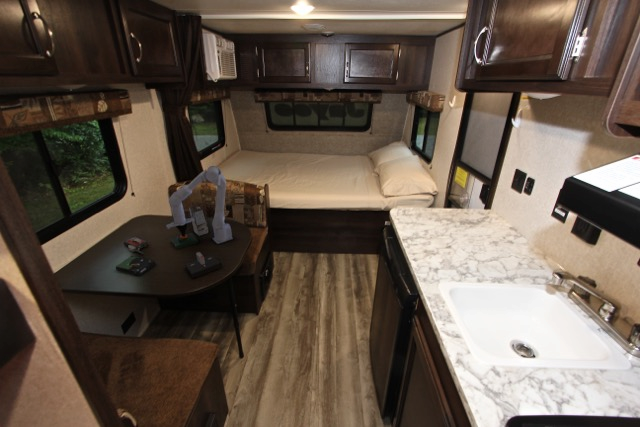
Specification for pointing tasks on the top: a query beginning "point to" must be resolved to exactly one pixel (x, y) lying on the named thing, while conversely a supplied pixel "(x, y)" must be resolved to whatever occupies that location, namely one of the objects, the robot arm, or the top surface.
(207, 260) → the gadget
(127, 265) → the disk drive
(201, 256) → the pale grey block
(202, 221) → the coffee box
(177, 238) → the control block
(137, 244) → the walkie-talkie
